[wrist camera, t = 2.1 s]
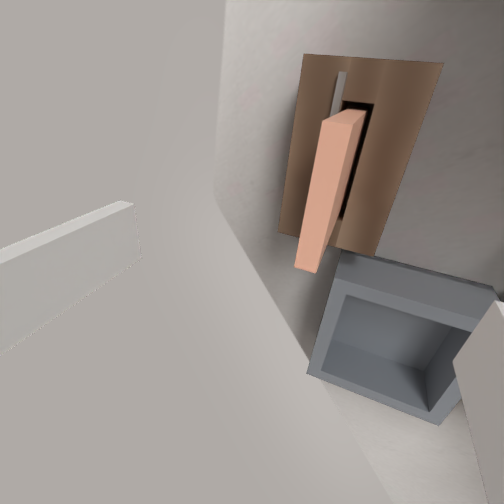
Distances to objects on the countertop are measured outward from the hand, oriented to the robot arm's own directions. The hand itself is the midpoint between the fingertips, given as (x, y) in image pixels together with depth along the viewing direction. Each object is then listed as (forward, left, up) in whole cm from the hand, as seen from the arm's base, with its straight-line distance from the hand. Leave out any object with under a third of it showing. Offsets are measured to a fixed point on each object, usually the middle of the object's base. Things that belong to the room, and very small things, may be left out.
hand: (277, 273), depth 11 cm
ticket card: (0, 0, -23) cm, 23 cm away
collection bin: (+19, +10, -24) cm, 32 cm away
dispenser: (0, 0, -24) cm, 24 cm away
